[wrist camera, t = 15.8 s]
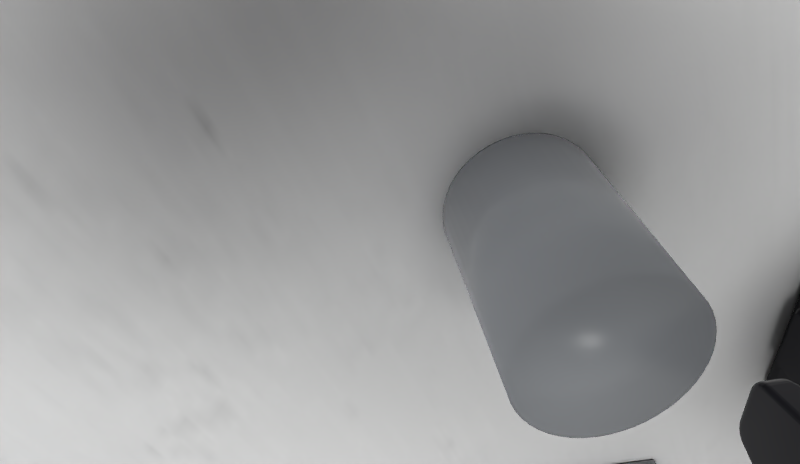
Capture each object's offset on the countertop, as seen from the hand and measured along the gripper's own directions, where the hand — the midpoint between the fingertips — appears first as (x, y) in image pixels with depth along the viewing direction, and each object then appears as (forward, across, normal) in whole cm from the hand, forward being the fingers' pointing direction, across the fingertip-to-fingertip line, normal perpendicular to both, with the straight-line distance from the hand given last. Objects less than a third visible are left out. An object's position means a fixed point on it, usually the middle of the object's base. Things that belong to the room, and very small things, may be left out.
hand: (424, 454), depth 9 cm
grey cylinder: (+12, -6, +4) cm, 14 cm away
